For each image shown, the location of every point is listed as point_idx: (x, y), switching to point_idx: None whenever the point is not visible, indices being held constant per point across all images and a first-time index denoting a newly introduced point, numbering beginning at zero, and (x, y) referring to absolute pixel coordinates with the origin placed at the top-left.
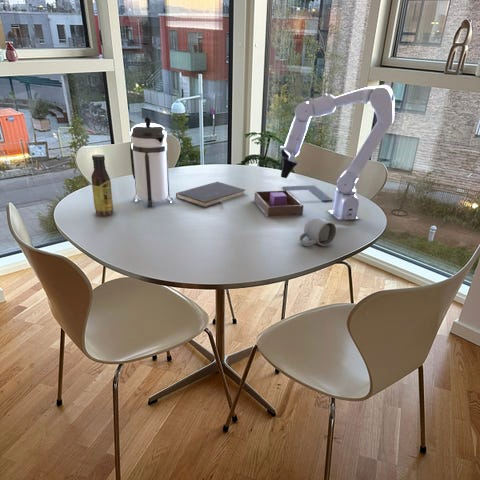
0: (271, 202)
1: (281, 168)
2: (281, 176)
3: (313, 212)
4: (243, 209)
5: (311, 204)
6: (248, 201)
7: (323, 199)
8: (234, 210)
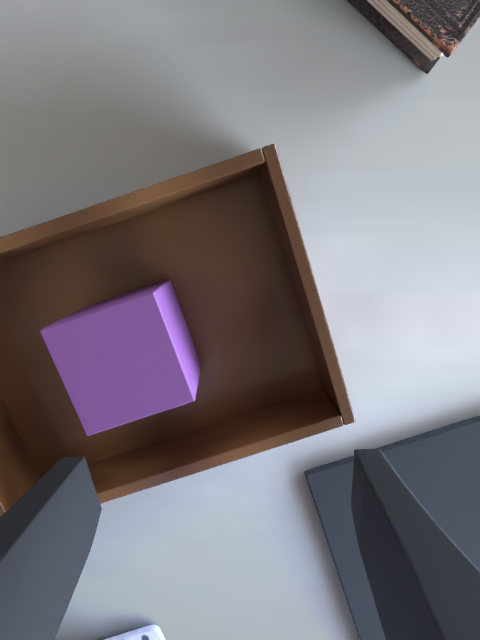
0: (117, 298)
1: (359, 478)
2: (55, 465)
3: (132, 546)
4: (77, 82)
5: (282, 539)
6: (276, 113)
7: (365, 611)
8: (35, 5)
